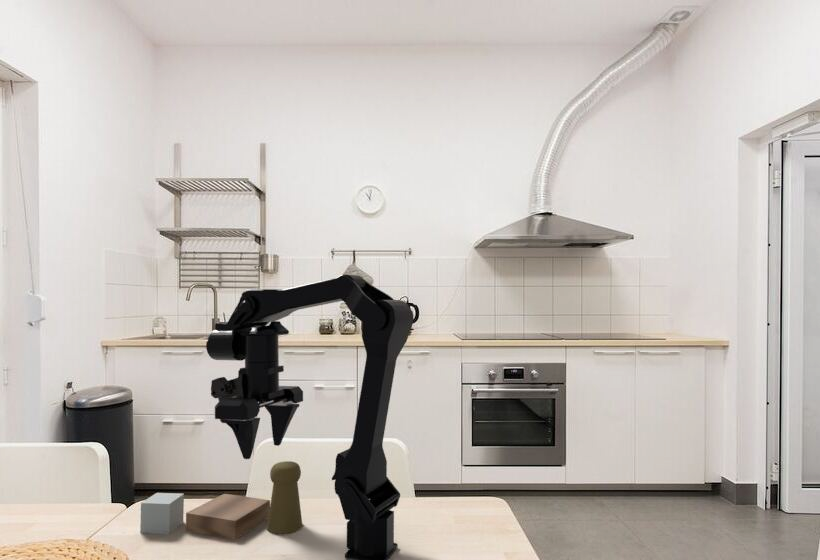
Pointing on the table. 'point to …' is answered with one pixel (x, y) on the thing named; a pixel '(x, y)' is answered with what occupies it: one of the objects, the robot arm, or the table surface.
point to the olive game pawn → (285, 499)
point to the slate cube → (162, 513)
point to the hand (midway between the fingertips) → (262, 451)
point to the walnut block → (228, 516)
